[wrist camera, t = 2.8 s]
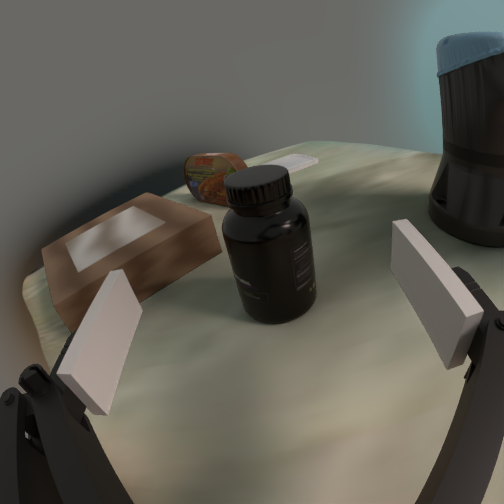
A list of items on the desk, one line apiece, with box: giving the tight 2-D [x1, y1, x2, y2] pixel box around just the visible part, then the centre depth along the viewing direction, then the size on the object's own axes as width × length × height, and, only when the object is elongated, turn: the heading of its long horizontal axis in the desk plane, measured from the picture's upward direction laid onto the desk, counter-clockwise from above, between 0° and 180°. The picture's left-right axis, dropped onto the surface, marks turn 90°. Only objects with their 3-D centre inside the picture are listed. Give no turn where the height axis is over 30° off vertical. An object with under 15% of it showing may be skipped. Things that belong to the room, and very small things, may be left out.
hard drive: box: [261, 154, 318, 174], centre depth 61 cm, size 2×8×12 cm
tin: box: [184, 153, 248, 206], centre depth 51 cm, size 15×3×8 cm, turn 46°
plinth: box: [42, 193, 222, 333], centre depth 39 cm, size 20×20×5 cm
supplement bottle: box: [222, 164, 316, 323], centre depth 25 cm, size 7×7×12 cm
